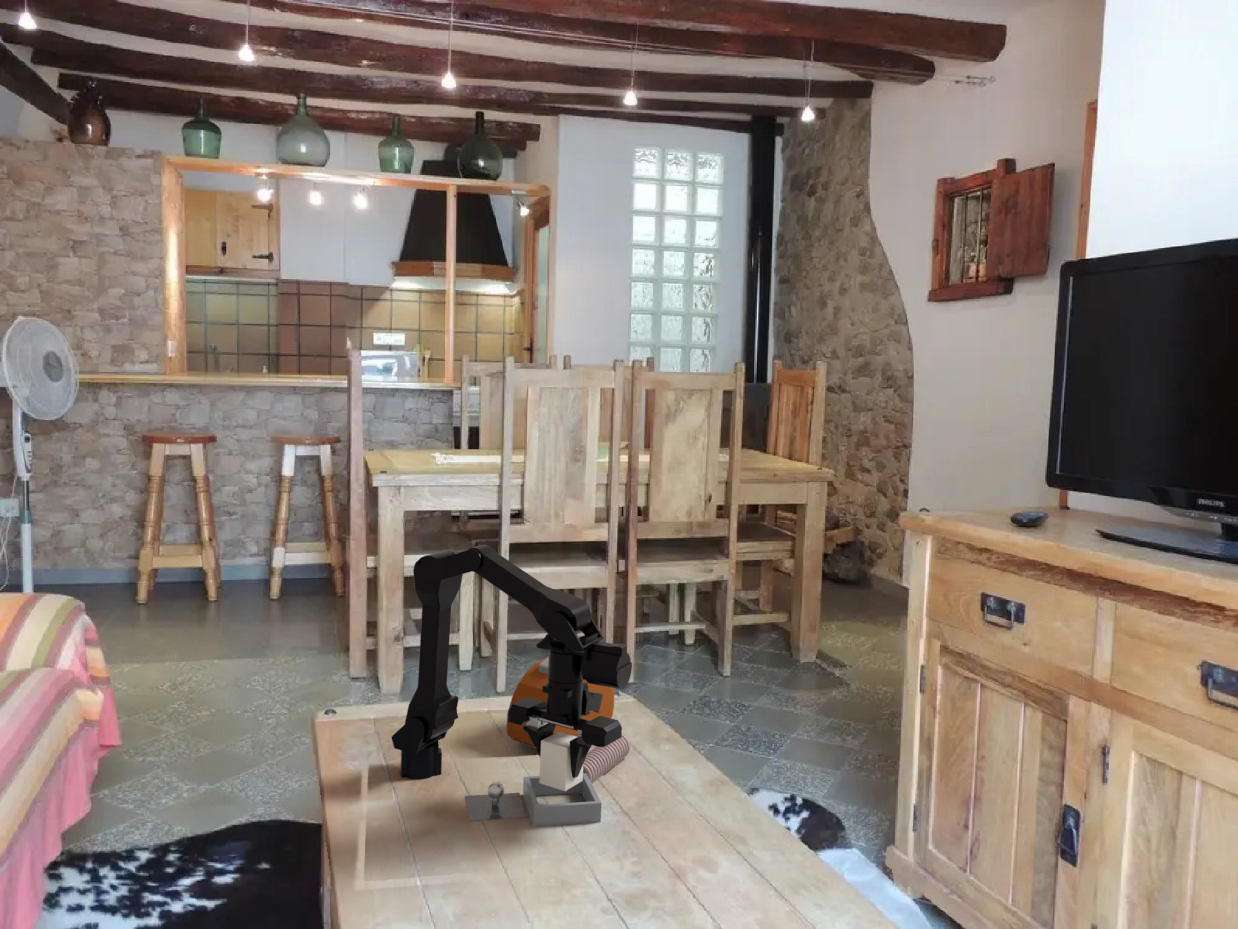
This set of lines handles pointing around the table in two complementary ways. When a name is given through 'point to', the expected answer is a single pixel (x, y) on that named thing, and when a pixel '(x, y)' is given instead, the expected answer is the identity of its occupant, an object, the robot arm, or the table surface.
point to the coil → (605, 758)
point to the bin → (563, 811)
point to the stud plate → (495, 805)
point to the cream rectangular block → (557, 762)
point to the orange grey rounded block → (533, 688)
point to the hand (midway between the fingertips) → (561, 773)
